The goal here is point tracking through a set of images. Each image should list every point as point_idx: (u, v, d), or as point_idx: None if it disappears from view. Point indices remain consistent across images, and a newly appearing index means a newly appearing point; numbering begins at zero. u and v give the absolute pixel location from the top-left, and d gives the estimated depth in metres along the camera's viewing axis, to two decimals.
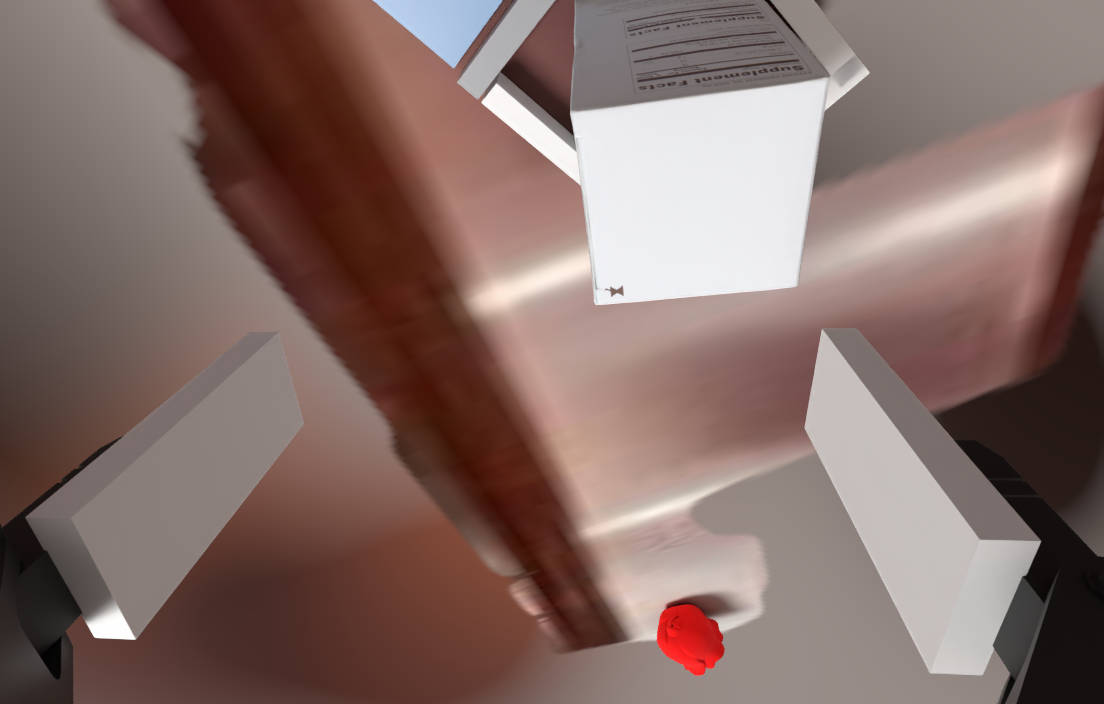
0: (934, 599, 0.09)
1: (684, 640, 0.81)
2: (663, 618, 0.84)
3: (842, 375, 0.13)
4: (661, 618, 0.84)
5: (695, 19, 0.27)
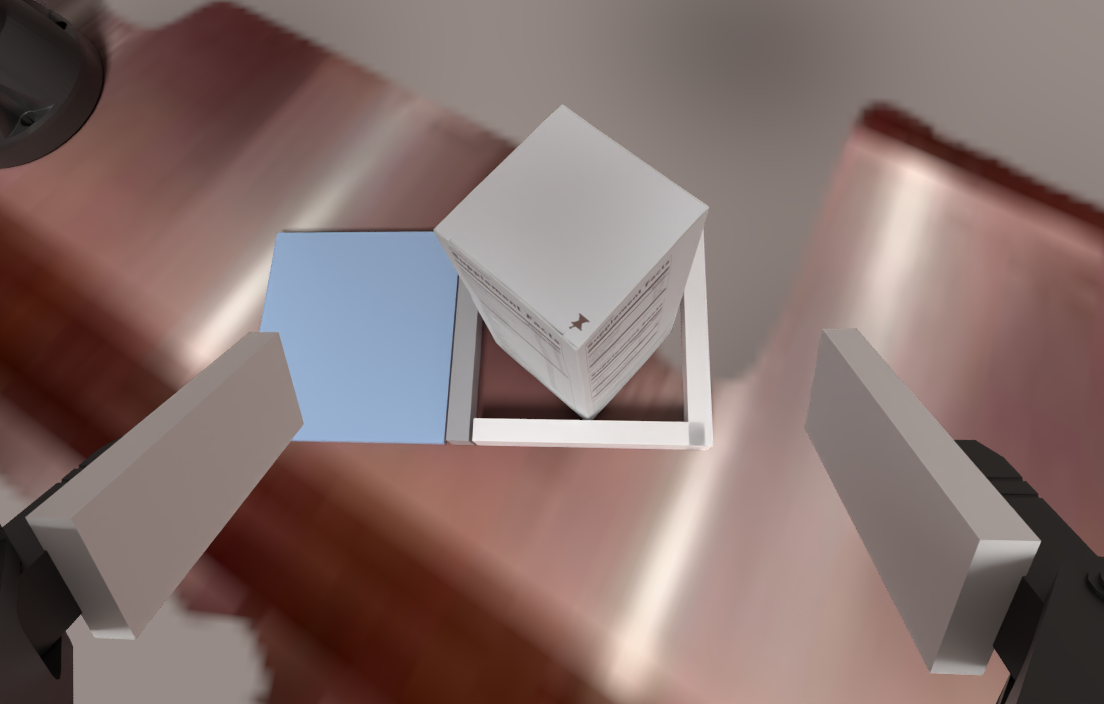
0: (934, 599, 0.09)
1: None
2: None
3: (841, 375, 0.13)
4: None
5: None
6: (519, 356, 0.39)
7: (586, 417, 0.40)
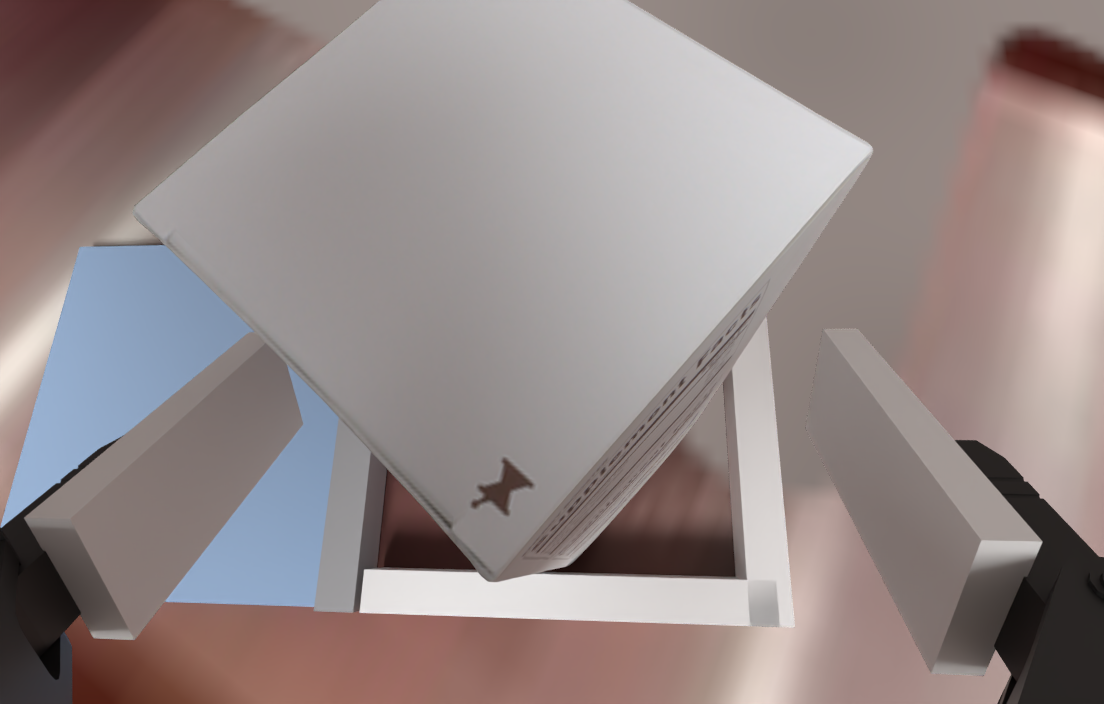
0: (935, 600, 0.09)
1: None
2: None
3: (842, 375, 0.12)
4: None
5: None
6: None
7: None
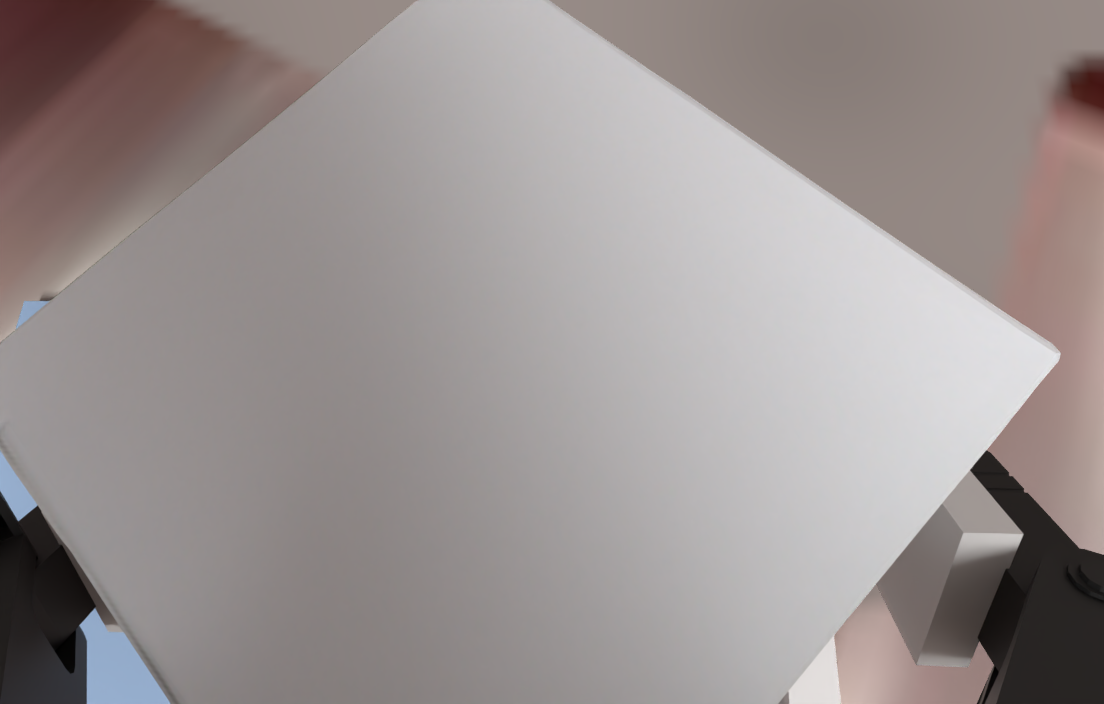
0: (920, 592, 0.09)
1: None
2: None
3: None
4: None
5: None
6: None
7: None
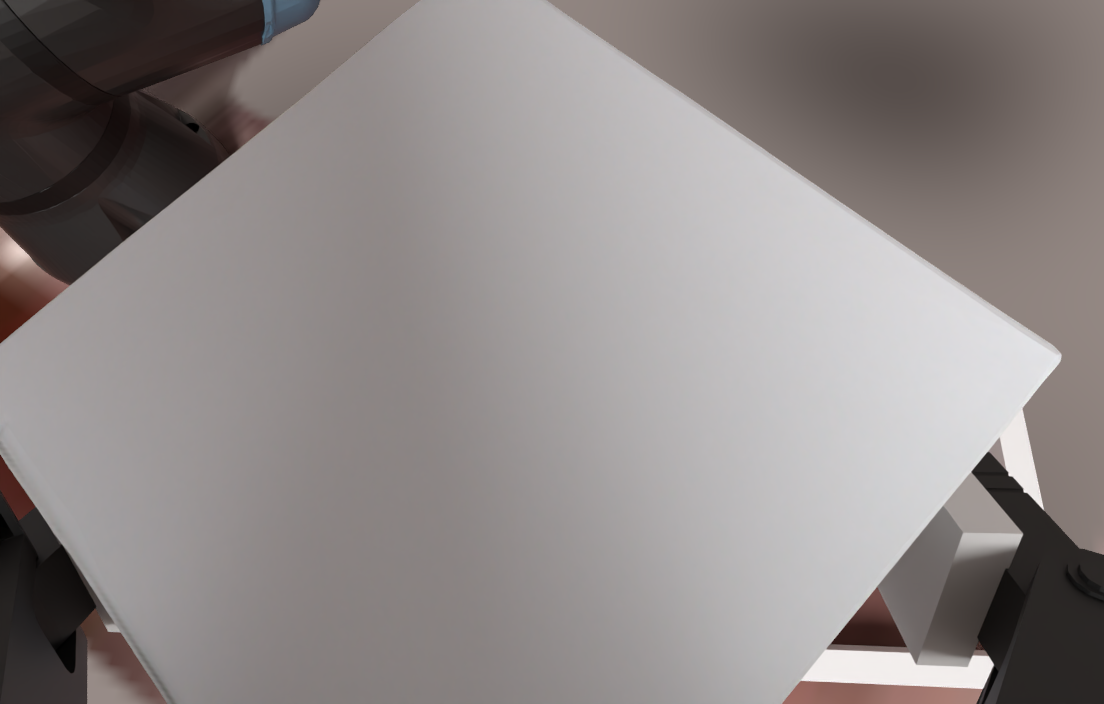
0: (920, 592, 0.09)
1: None
2: None
3: None
4: None
5: None
6: None
7: None
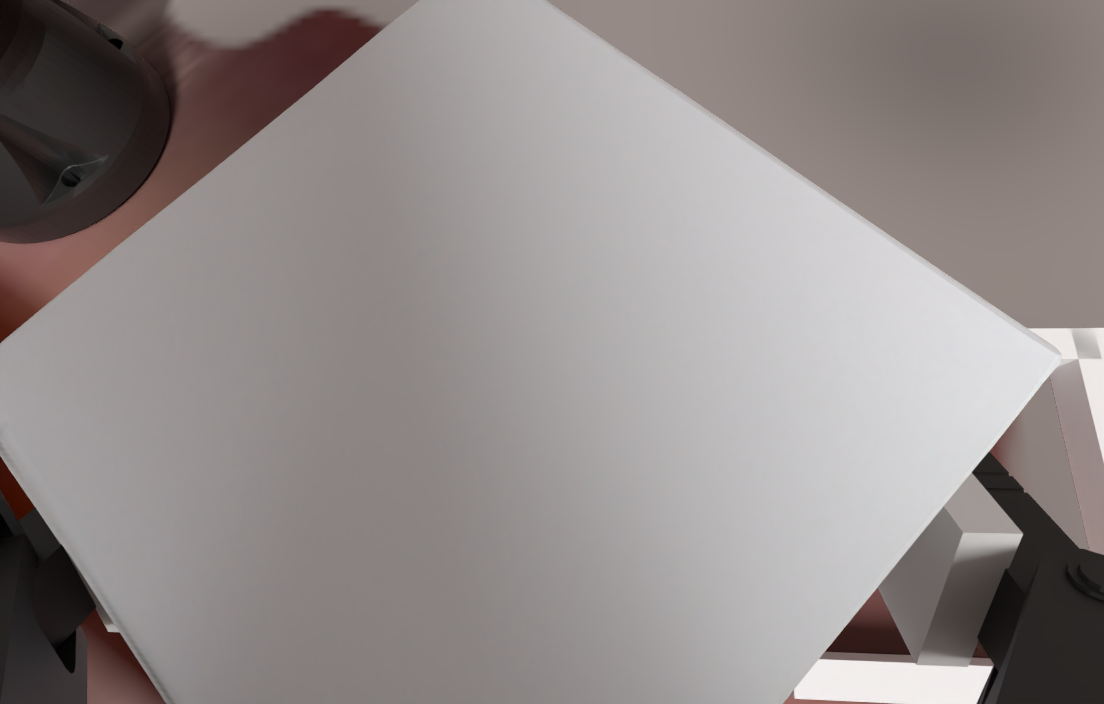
0: (920, 592, 0.09)
1: None
2: None
3: None
4: None
5: None
6: None
7: None
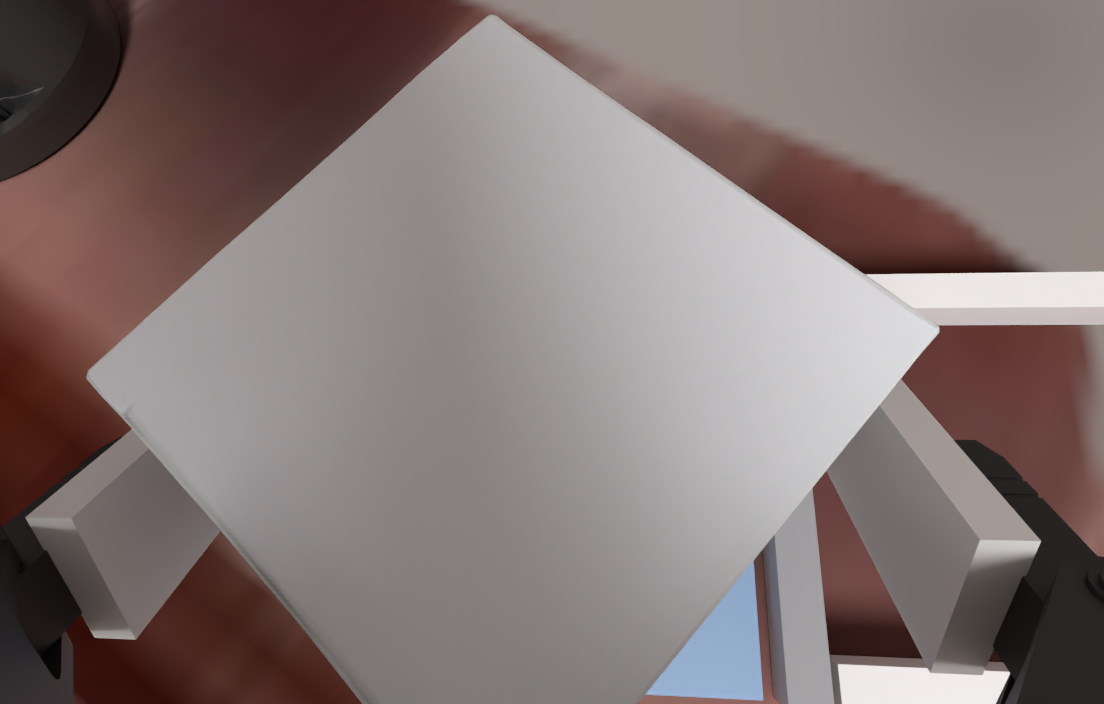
0: (934, 599, 0.09)
1: None
2: None
3: None
4: None
5: None
6: None
7: None
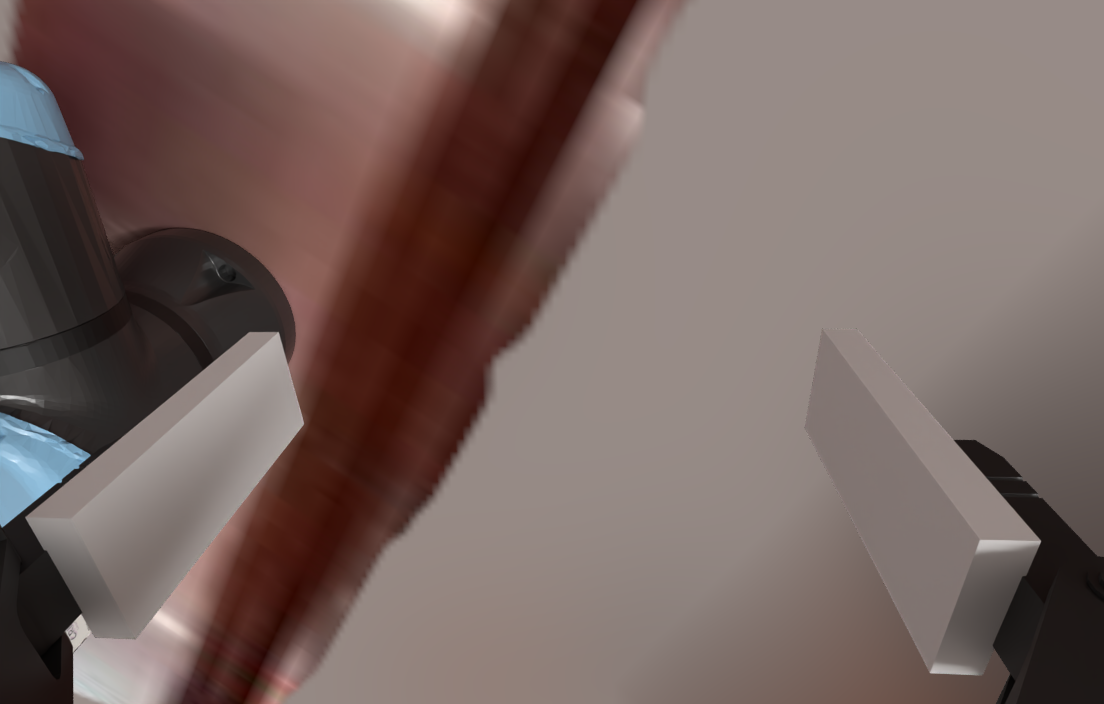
0: (934, 599, 0.09)
1: None
2: None
3: (841, 375, 0.13)
4: None
5: None
6: None
7: None
